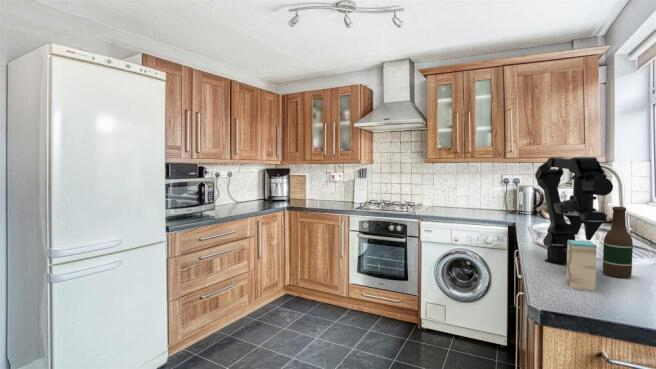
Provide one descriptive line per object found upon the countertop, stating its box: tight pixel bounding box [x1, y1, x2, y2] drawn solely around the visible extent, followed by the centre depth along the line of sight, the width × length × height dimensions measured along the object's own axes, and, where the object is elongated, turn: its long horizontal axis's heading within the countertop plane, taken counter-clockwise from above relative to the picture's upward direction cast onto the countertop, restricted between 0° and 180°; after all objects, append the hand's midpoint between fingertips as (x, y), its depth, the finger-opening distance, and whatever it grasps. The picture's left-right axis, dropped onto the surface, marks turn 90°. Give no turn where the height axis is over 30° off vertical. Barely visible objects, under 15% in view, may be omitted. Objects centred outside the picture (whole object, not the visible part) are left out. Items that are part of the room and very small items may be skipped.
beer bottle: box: [602, 206, 634, 280], centre depth 115 cm, size 8×8×24 cm
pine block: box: [565, 239, 598, 291], centre depth 105 cm, size 6×6×14 cm
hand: (581, 237), depth 117 cm, fingers open, 9 cm apart
